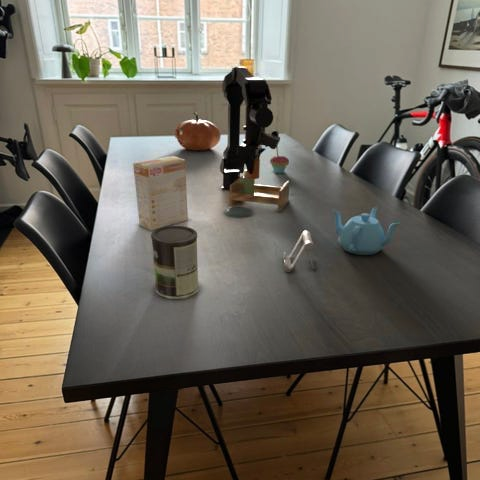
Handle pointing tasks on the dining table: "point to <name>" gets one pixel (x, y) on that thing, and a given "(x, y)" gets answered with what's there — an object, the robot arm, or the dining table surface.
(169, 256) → the coffee can
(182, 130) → the pumpkin
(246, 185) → the green bottle
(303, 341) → the dining table surface
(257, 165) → the amber bottle
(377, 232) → the teapot
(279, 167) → the cupcake
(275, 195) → the spice rack
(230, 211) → the coaster
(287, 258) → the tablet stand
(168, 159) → the coffeecake box
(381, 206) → the dining table surface
